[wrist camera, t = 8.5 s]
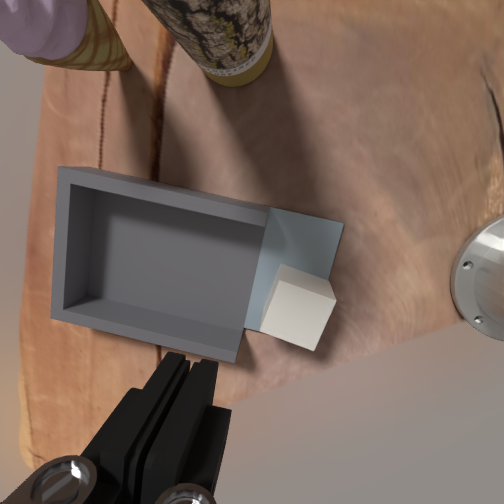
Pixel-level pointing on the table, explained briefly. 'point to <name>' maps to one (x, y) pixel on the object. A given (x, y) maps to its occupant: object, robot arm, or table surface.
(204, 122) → the table surface
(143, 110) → the table surface
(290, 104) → the table surface
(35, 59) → the ice cream cone
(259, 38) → the paper tube
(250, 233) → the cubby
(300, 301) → the cream block
